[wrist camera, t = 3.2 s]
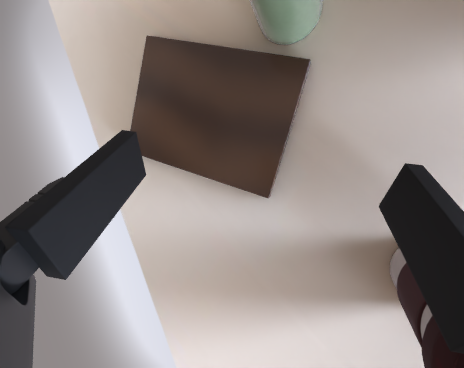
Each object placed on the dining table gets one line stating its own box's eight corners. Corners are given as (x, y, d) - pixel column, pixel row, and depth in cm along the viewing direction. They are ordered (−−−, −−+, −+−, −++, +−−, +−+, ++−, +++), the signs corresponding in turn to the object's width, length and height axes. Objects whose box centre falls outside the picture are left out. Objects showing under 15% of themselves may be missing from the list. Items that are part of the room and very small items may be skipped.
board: (152, 39, 32) (146, 35, 31) (310, 63, 26) (310, 59, 25) (132, 151, 35) (126, 150, 34) (270, 196, 29) (268, 198, 28)
